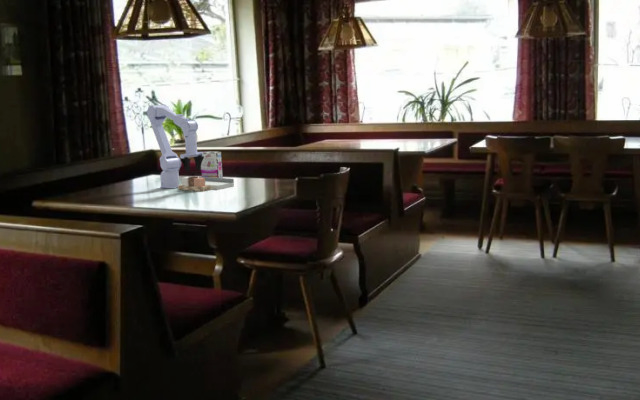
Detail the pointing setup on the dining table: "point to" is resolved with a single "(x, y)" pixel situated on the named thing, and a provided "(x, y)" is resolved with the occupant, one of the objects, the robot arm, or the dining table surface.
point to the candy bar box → (211, 165)
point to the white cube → (185, 181)
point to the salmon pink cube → (199, 182)
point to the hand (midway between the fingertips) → (193, 171)
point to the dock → (218, 182)
